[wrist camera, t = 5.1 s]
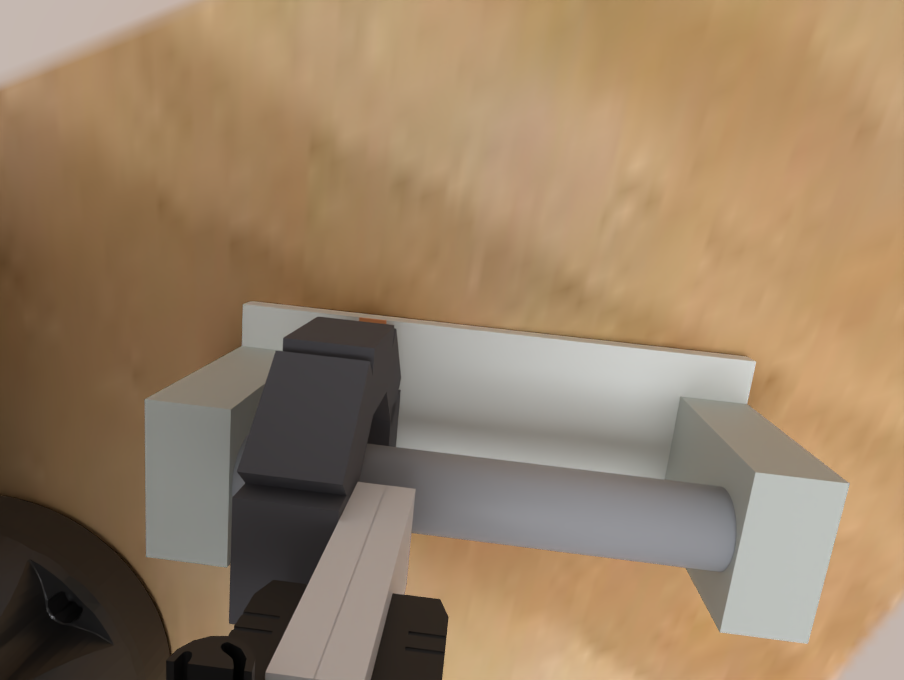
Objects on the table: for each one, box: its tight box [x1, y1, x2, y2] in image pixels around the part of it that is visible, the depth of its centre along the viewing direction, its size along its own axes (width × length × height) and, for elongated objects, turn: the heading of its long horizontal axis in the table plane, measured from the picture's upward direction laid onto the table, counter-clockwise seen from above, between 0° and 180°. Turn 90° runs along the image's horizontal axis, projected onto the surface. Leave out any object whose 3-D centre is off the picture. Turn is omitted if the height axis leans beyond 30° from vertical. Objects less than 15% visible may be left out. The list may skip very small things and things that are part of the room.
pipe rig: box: [145, 301, 850, 644], centre depth 20 cm, size 19×8×7 cm, turn 84°
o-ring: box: [229, 317, 401, 624], centre depth 18 cm, size 2×9×9 cm, turn 174°
